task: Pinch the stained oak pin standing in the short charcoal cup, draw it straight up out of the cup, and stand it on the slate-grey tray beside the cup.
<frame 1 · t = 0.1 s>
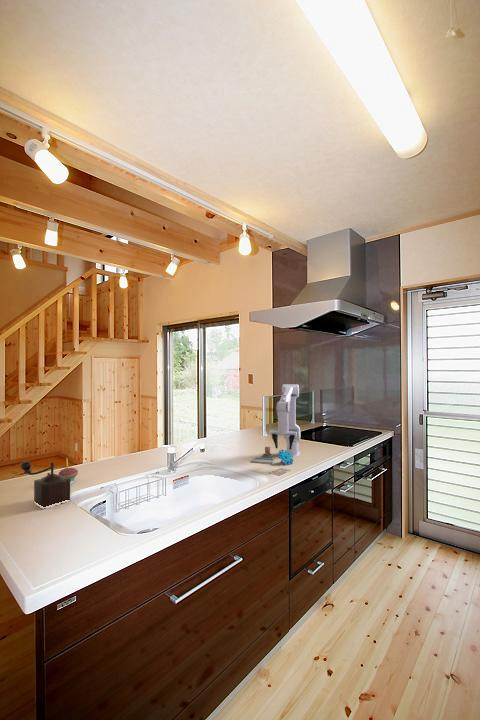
hand: (283, 448, 187), 10 cm above the worktop, tool pointing down, fingers open, 7 cm apart
grey tray: (263, 461, 197), on the worktop
cupcake: (68, 483, 164), on the worktop
oak pin: (267, 452, 205), in the charcoal cup
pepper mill: (45, 504, 138), on the worktop
gear: (286, 464, 193), on the worktop
charcoal cup: (267, 457, 205), on the worktop
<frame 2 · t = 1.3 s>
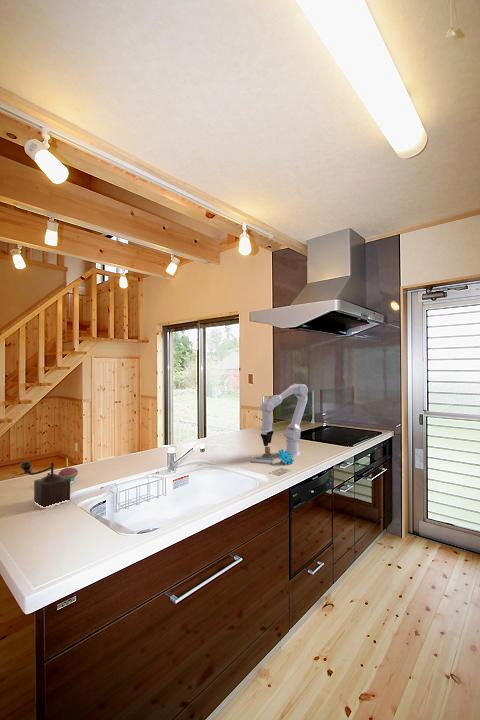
hand: (267, 444, 205), 8 cm above the worktop, tool pointing down, fingers open, 7 cm apart
nothing on the worktop moved.
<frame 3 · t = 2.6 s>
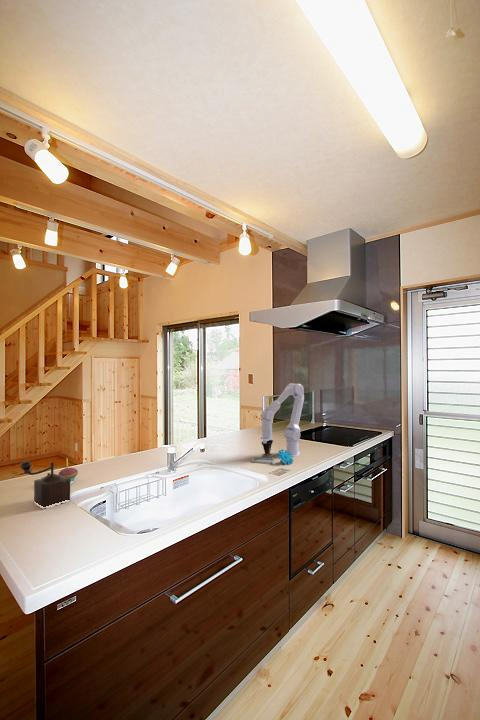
hand: (267, 453, 205), 3 cm above the worktop, tool pointing down, fingers closed on oak pin, 3 cm apart
oak pin: (267, 452, 205), in the charcoal cup, touching gripper
everything else where it was.
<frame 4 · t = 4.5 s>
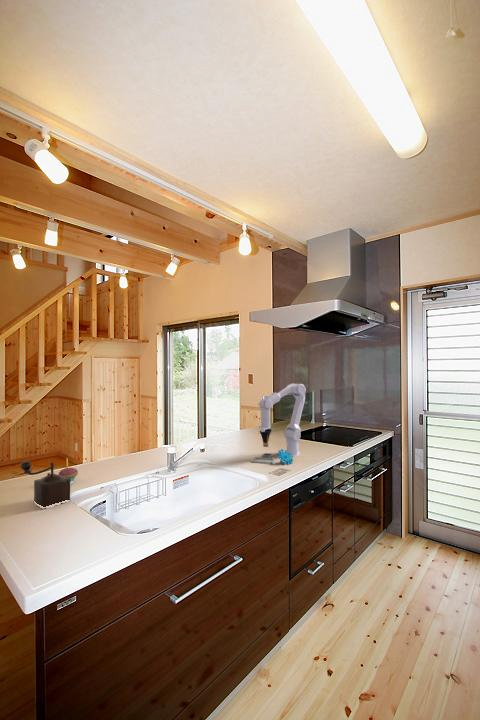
hand: (265, 442, 203), 10 cm above the worktop, tool pointing down, fingers closed on oak pin, 3 cm apart
oak pin: (265, 441, 203), point 10 cm above the worktop, touching gripper
everything else where it was.
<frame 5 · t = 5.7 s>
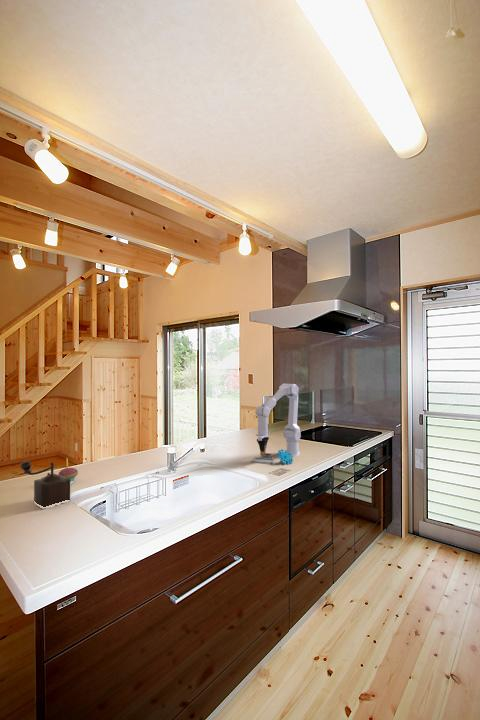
hand: (263, 450, 197), 6 cm above the worktop, tool pointing down, fingers closed on oak pin, 3 cm apart
oak pin: (262, 449, 197), point 7 cm above the worktop, touching gripper
everything else where it was.
when the fingers open (4 cm above the worktop, at t = 6.6 s): oak pin drops 1 cm, resting on grey tray.
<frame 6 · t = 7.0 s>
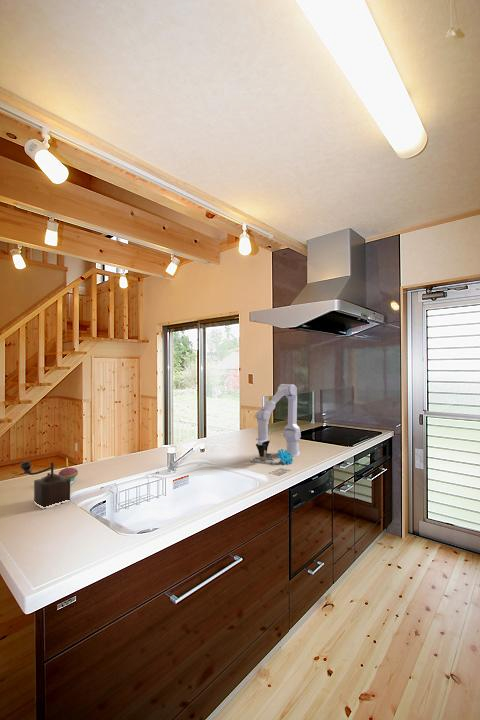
hand: (263, 454, 197), 4 cm above the worktop, tool pointing down, fingers open, 7 cm apart
oak pin: (263, 455, 197), resting on grey tray
everything else where it was.
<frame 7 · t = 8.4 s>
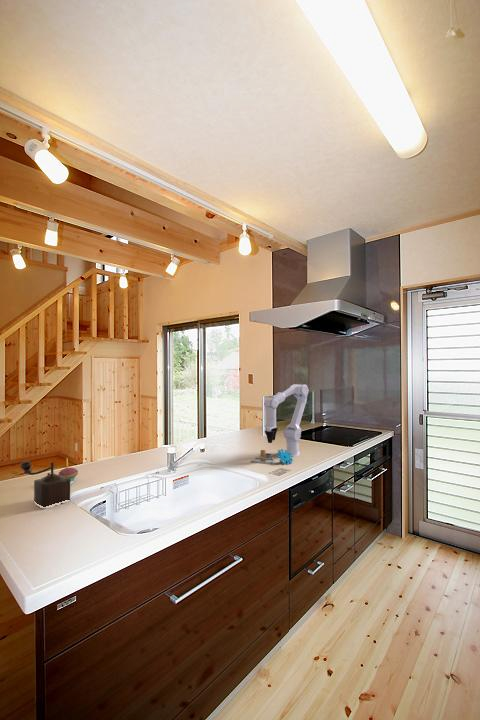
hand: (271, 441, 203), 10 cm above the worktop, tool pointing down, fingers open, 7 cm apart
nothing on the worktop moved.
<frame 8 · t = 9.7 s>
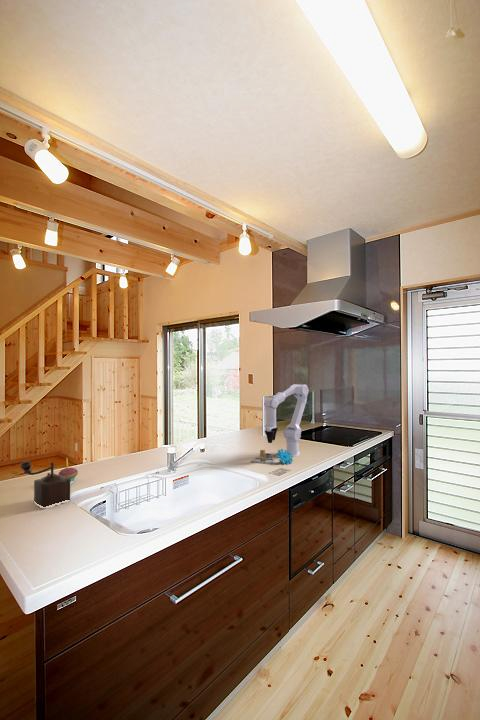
hand: (271, 441, 203), 10 cm above the worktop, tool pointing down, fingers open, 7 cm apart
at the end: oak pin inside the target area on the grey tray (0.0 cm from its centre), point 3.4 cm above the grey tray's base; the gripper is holding nothing; oak pin moved 8.8 cm from its start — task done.
